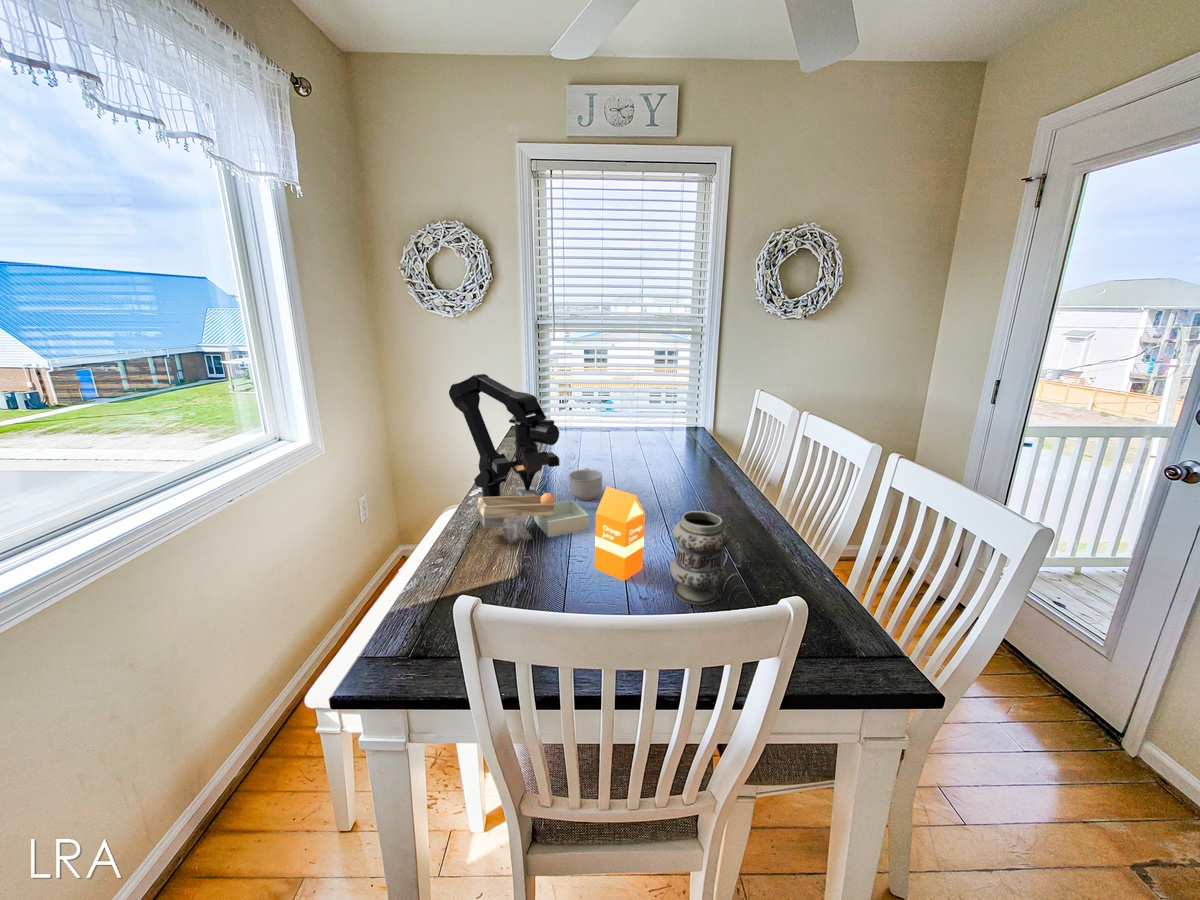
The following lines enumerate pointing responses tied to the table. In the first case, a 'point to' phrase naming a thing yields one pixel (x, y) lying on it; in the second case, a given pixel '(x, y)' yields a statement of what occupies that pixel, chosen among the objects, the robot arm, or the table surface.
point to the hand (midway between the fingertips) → (527, 490)
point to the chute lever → (511, 507)
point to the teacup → (585, 484)
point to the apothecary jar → (699, 557)
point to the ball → (547, 498)
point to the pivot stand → (515, 529)
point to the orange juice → (619, 534)
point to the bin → (564, 519)
